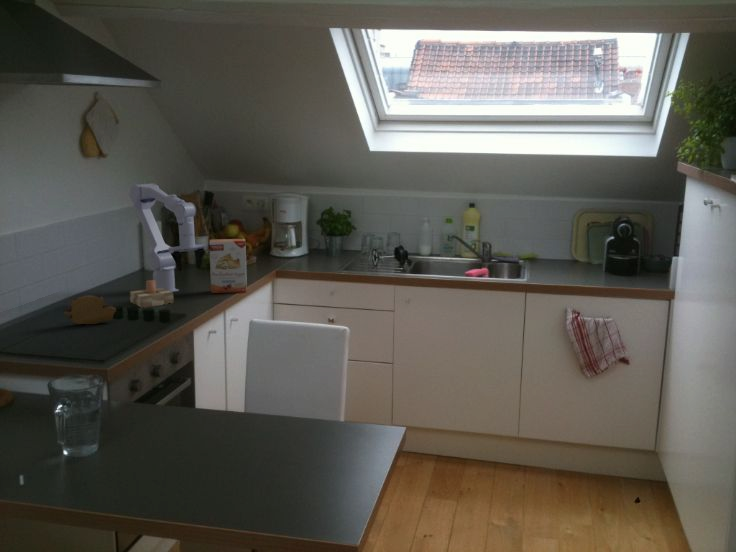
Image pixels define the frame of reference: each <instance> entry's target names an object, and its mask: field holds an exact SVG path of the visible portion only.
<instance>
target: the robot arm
mask: <svg viewBox="0 0 736 552" xmlns="http://www.w3.org/2000/svg"><path fill="white" fill-rule="evenodd" d="M177 196H178V195H176V194H167V193H166V192H165V191H163V189H161V188H159V185H157V184H156V183H154V182H151V183H141V184H139V183H138V184H136V183H135V184H132V185H131V187H130V189H129V197H130V201H131V202H132V204H133V207H134V208H135V211H136V214H137V216H138V218H139V221H140V222H141V225H142V229H143V230H144V232H145V235H146V237H147V240H148V242H149V245H150V247H151V248H150V251H149V252H148V258H149V264H150V267H152V269H153V273H152V280H155V282H156V288H160V287H161V288H163V289H166V290H168V291H170V292H173V293H175V292H179V291H180V289H178V288H176V282H175V281H176V279H175V269H176V268H177V271H178V272H182V270H183V267H182V255H183V254H182V252H191V251H193V253H194V256H195V266H196V267H195V268H196V269H198V270H200V269H201V266H202V261H203V258H204V255H205V254H206V250H207V243H198V244H197V243H196V241H195V240H196V237H195V234H196V233H195V224H194V223H195V220H194V217H195V216H196V215H197V208H196V205H195V204H194V203H193V202H191V201H190V202H186V201H185V200H184V199H181V198H179V197H177ZM156 201H159V202H161V203H163V205H164V207H165V208H166V209H168V210H169V211H171V212H172V213H173V214H174V216H175V217H176V222H177V224H178V234H179V236H178V237H179V245H178V246H171V245H168V244H167V243H165V240H164V238H163V236H162V233H161V231H160V229H159V226H158V224H157V222H156V219H155V216H154V214H153V212H152V209H151V208H152V207H153V206H154V205H155V203H156Z"/></svg>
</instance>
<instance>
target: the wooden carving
mask: <svg viewBox="0 0 736 552" xmlns="http://www.w3.org/2000/svg"><path fill="white" fill-rule="evenodd" d="M70 306H71V308H70V309H66V308H65V309H64V310H63V315H65V316H69V318H68V320H69V322H71V323H75V324H77V325H81V324H94V325H96V324H99V323H101V322H102V321H104V322H112V321H113V320H114V316H115V313H116V312H117V308H116V306H114V305H112V304H111V305H110V304H108V305H107V304H106V305H105V300H104V298H103V295H102V296H97V295H94V294H93V295H92V294H88V295H81V296H78V297H77V298H72V299H71V301H70Z"/></svg>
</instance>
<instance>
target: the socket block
mask: <svg viewBox="0 0 736 552" xmlns="http://www.w3.org/2000/svg"><path fill="white" fill-rule="evenodd" d="M129 297H130V300H129V301H130V303H132V304H134V305H136V306H138V307H140V308H142V309H144V308H148V307H149V308H150V307H156V306H163V304H164V305H169V304H168V303H171V304H174V303H175V302H174V292H170V291H168V290H166V289H163V288H161V287H160V288H156V293H151V294H147V290H146V288H145V289H137V290H132V291H131V290H130V291H129ZM143 307H144V308H143Z"/></svg>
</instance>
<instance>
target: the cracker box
mask: <svg viewBox="0 0 736 552" xmlns="http://www.w3.org/2000/svg"><path fill="white" fill-rule="evenodd" d="M208 244H209V264H210V266H209V267H210V271H209V272H210V292H211V294H222V293H223V294H229V293H247V292H248V291H247V290H248V286H247V284H248V280H247V277H248V276H247V253H246V252H247V251H246V250H247V249H246V248H247V247H246V239H245V238H229V239H228V238H226V239H225V238H224V239H223V238H220V239H217V238H214V239H209V243H208Z"/></svg>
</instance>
